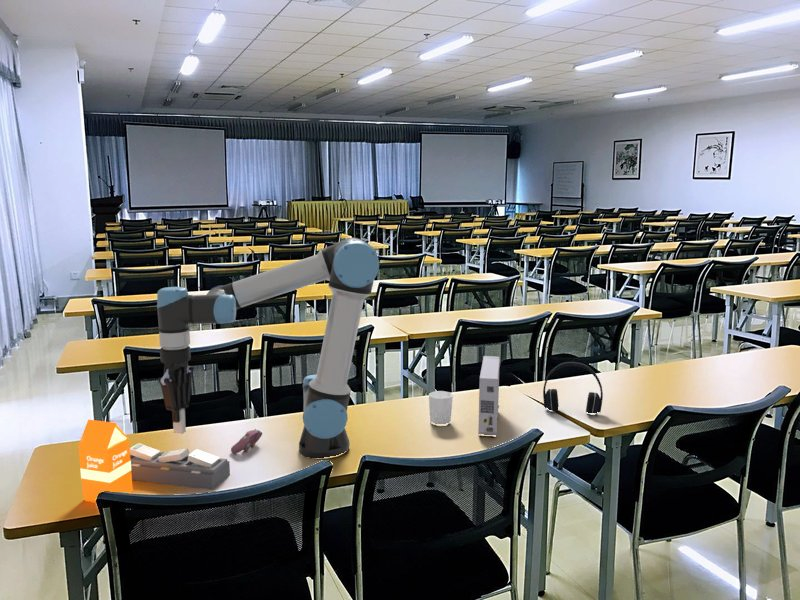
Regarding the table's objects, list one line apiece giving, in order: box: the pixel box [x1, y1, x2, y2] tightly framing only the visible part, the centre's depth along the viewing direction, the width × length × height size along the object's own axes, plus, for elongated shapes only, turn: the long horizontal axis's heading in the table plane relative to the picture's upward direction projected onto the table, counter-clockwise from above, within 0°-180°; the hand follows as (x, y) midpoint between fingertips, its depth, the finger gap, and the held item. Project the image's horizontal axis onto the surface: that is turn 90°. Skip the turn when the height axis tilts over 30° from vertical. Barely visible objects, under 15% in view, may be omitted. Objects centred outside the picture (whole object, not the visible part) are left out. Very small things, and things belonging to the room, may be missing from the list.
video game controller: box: [230, 428, 263, 455], centre depth 190 cm, size 10×5×7 cm, turn 160°
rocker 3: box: [187, 448, 220, 468], centre depth 168 cm, size 7×4×2 cm, turn 76°
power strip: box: [130, 451, 231, 490], centre depth 171 cm, size 28×9×5 cm, turn 76°
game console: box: [477, 355, 501, 436], centre depth 209 cm, size 6×27×20 cm, turn 170°
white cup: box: [428, 390, 454, 424], centre depth 210 cm, size 8×8×10 cm
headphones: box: [542, 361, 604, 414], centre depth 220 cm, size 20×7×18 cm, turn 74°
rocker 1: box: [129, 442, 162, 461], centre depth 173 cm, size 7×4×2 cm, turn 76°
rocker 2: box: [158, 447, 191, 462], centre depth 170 cm, size 7×4×2 cm, turn 76°
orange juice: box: [77, 419, 134, 503], centre depth 159 cm, size 8×9×20 cm
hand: (179, 432), depth 169 cm, fingers closed
